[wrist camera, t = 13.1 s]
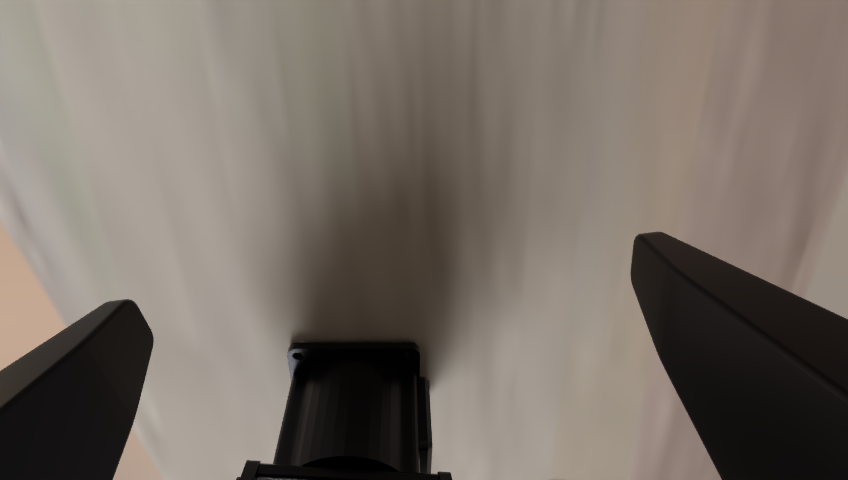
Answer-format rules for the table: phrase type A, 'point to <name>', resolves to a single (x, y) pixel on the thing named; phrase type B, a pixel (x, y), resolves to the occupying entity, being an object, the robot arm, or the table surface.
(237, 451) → the table surface
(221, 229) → the table surface
